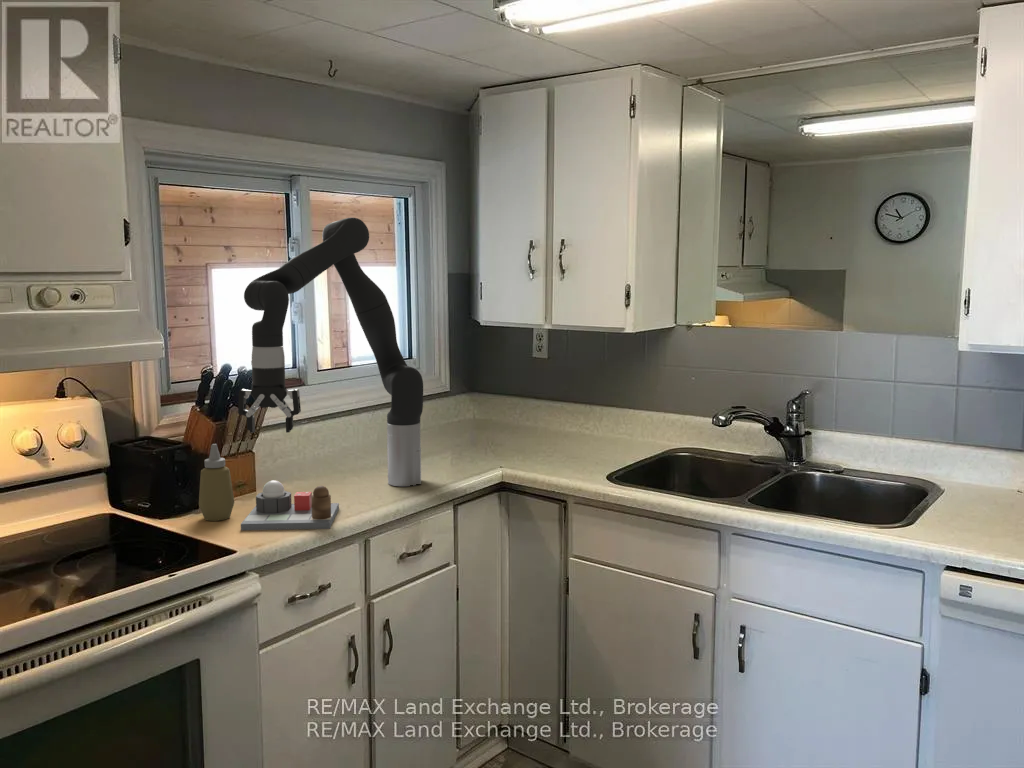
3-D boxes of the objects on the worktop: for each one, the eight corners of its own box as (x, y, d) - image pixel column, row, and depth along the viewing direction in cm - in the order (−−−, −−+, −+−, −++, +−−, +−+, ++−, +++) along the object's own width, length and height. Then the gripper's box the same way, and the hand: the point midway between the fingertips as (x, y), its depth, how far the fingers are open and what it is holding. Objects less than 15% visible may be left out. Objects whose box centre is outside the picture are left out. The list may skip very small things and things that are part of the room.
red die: (312, 506, 200) (311, 491, 199) (309, 510, 196) (309, 495, 196) (297, 506, 199) (296, 491, 199) (294, 510, 196) (294, 495, 195)
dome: (286, 497, 200) (285, 477, 199) (282, 503, 195) (281, 483, 194) (265, 498, 199) (264, 478, 198) (261, 503, 194) (260, 483, 194)
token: (332, 513, 193) (331, 483, 192) (329, 519, 189) (328, 488, 188) (313, 514, 193) (312, 483, 192) (310, 519, 188) (309, 488, 187)
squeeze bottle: (204, 525, 189) (201, 449, 186) (195, 516, 195) (191, 443, 193) (239, 519, 193) (236, 445, 191) (229, 511, 200) (226, 439, 198)
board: (338, 508, 202) (338, 489, 202) (329, 528, 187) (329, 507, 186) (257, 510, 201) (256, 490, 200) (241, 530, 185) (240, 509, 184)
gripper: (301, 363, 197) (303, 429, 199) (242, 363, 196) (244, 429, 198) (295, 366, 190) (297, 435, 192) (233, 366, 189) (235, 435, 191)
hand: (270, 432), depth 195 cm, fingers open, 8 cm apart
